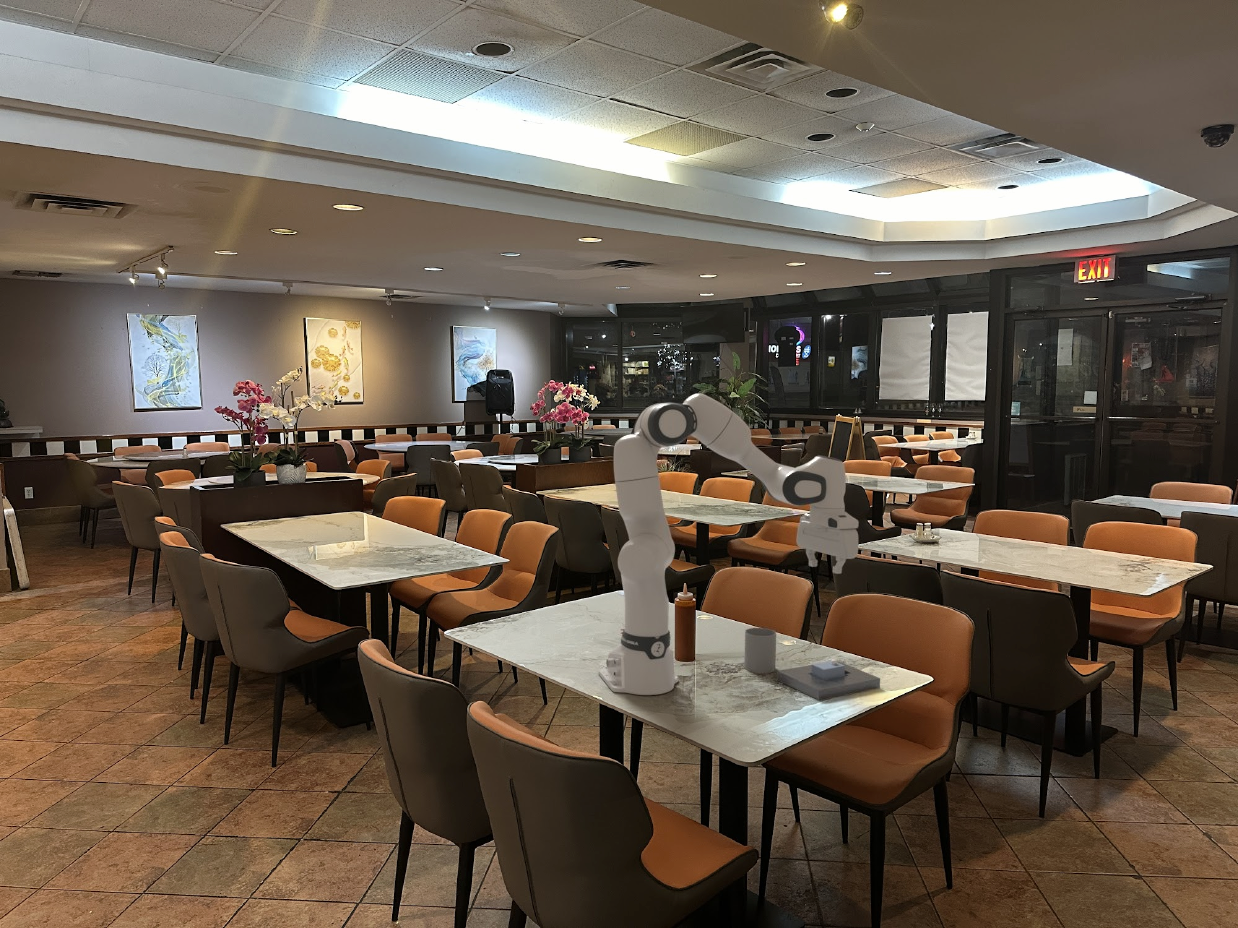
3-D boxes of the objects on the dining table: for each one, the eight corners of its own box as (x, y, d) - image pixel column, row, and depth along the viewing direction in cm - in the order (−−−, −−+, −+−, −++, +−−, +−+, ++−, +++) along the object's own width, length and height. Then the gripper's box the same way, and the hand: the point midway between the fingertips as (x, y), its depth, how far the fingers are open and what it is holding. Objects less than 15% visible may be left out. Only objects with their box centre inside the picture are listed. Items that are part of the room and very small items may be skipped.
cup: (741, 670, 218) (742, 634, 217) (747, 661, 226) (748, 626, 225) (772, 674, 215) (773, 637, 214) (777, 665, 223) (778, 629, 222)
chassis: (777, 680, 210) (777, 670, 210) (835, 669, 220) (836, 660, 220) (818, 700, 196) (819, 690, 196) (879, 687, 206) (880, 678, 205)
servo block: (811, 683, 208) (811, 660, 208) (836, 678, 212) (837, 656, 212) (823, 688, 204) (823, 665, 204) (848, 683, 208) (849, 660, 208)
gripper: (791, 513, 220) (790, 563, 221) (844, 523, 202) (842, 578, 203) (810, 512, 223) (808, 561, 224) (863, 522, 205) (861, 576, 206)
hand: (824, 569), depth 214 cm, fingers open, 8 cm apart
